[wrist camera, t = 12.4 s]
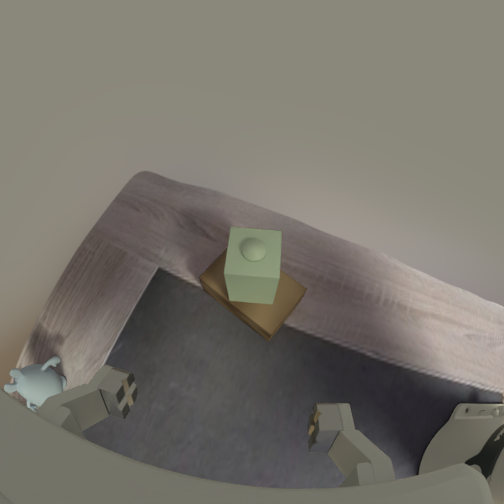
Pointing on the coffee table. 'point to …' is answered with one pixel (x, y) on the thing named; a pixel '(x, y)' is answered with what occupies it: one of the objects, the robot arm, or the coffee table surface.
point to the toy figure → (37, 382)
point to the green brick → (253, 265)
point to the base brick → (254, 314)
